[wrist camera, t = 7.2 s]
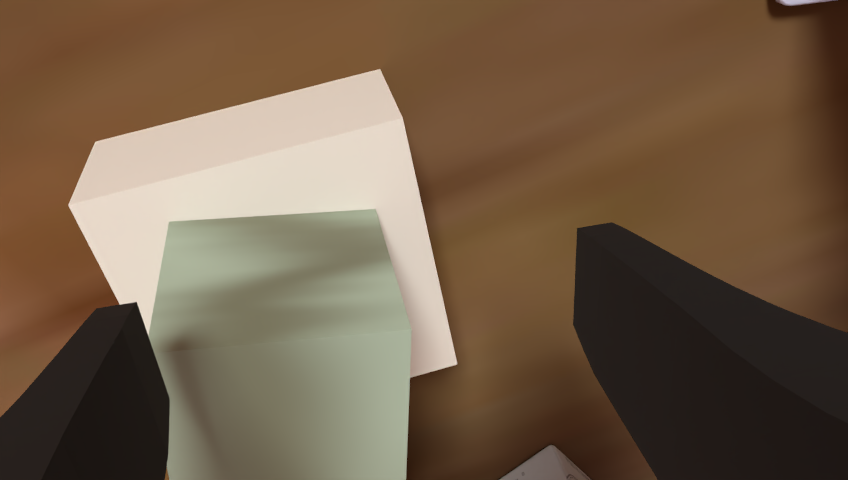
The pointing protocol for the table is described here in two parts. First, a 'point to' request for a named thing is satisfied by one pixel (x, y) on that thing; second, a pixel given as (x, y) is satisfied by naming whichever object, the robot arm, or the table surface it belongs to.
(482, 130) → the table surface
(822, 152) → the table surface
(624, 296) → the robot arm
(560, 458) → the coffee box
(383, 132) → the cream base block
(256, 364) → the green cube
